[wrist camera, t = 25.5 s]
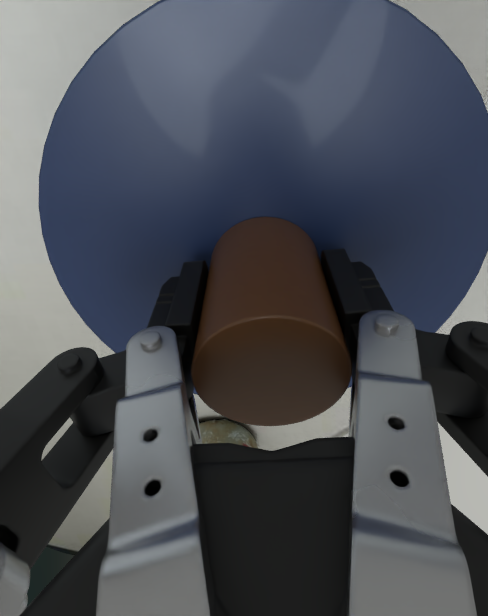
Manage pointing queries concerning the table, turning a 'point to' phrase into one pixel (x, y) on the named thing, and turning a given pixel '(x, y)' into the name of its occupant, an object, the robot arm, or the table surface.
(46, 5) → the table surface
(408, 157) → the pot lid
